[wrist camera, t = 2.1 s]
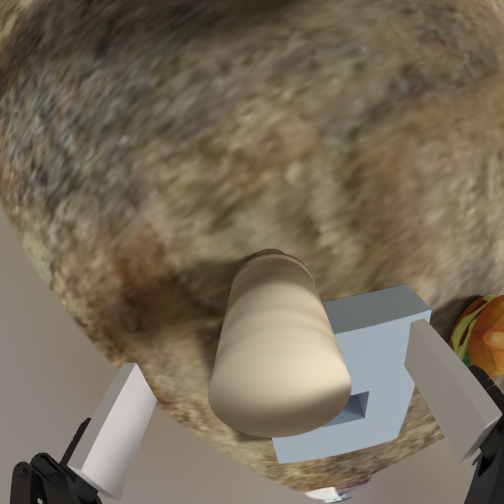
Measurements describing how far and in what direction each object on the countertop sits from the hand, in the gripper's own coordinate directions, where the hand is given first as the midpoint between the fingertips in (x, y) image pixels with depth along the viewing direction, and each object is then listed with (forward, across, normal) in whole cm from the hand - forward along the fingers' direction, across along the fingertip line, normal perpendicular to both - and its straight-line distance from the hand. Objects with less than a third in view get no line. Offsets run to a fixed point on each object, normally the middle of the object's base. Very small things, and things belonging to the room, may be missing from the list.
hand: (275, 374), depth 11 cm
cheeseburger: (+12, +24, -12) cm, 30 cm away
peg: (+12, 0, 0) cm, 12 cm away
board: (+12, +5, -14) cm, 19 cm away
